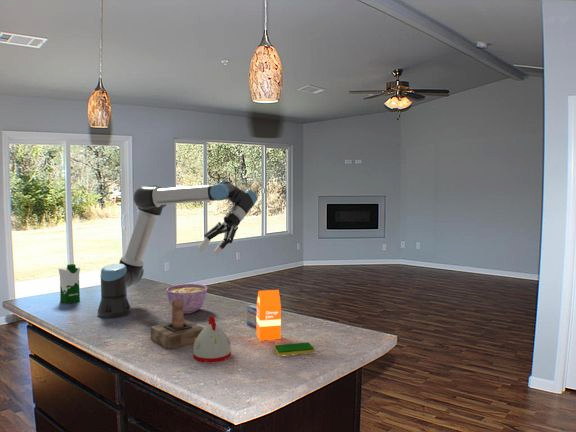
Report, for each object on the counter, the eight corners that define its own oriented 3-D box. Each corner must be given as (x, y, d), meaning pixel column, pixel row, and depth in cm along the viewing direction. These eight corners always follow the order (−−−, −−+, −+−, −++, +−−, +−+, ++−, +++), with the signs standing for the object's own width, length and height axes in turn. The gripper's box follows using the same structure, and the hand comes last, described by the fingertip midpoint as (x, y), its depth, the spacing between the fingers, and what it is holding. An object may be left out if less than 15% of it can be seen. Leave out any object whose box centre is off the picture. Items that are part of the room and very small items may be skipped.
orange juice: (256, 335, 200) (256, 288, 199) (276, 333, 203) (277, 287, 201) (259, 341, 193) (260, 293, 191) (280, 339, 195) (281, 291, 193)
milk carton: (66, 304, 245) (65, 266, 243) (57, 301, 250) (56, 264, 249) (82, 301, 252) (81, 264, 251) (73, 298, 257) (72, 262, 256)
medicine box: (246, 324, 215) (246, 305, 214) (253, 322, 218) (253, 304, 217) (258, 328, 209) (258, 309, 209) (265, 326, 213) (265, 307, 212)
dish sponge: (274, 351, 183) (274, 344, 183) (308, 348, 187) (308, 342, 187) (278, 357, 177) (278, 351, 176) (314, 354, 180) (314, 348, 180)
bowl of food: (204, 304, 248) (204, 282, 247) (210, 315, 229) (210, 291, 228) (165, 307, 241) (164, 285, 241) (168, 318, 223) (167, 294, 222)
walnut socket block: (150, 338, 195) (150, 325, 194) (185, 330, 205) (185, 318, 205) (169, 349, 183) (169, 335, 182) (205, 340, 193) (205, 326, 193)
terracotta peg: (170, 339, 194) (170, 300, 193) (180, 336, 197) (179, 299, 196) (175, 342, 191) (175, 303, 190) (185, 339, 194) (185, 301, 193)
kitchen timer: (197, 365, 168) (197, 323, 167) (189, 351, 181) (189, 313, 179) (235, 359, 173) (235, 319, 172) (225, 347, 186) (225, 309, 185)
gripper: (255, 224, 218) (228, 260, 209) (224, 220, 236) (198, 253, 227) (245, 213, 214) (217, 249, 205) (215, 210, 232) (188, 243, 223)
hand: (207, 251), depth 216 cm, fingers open, 13 cm apart
